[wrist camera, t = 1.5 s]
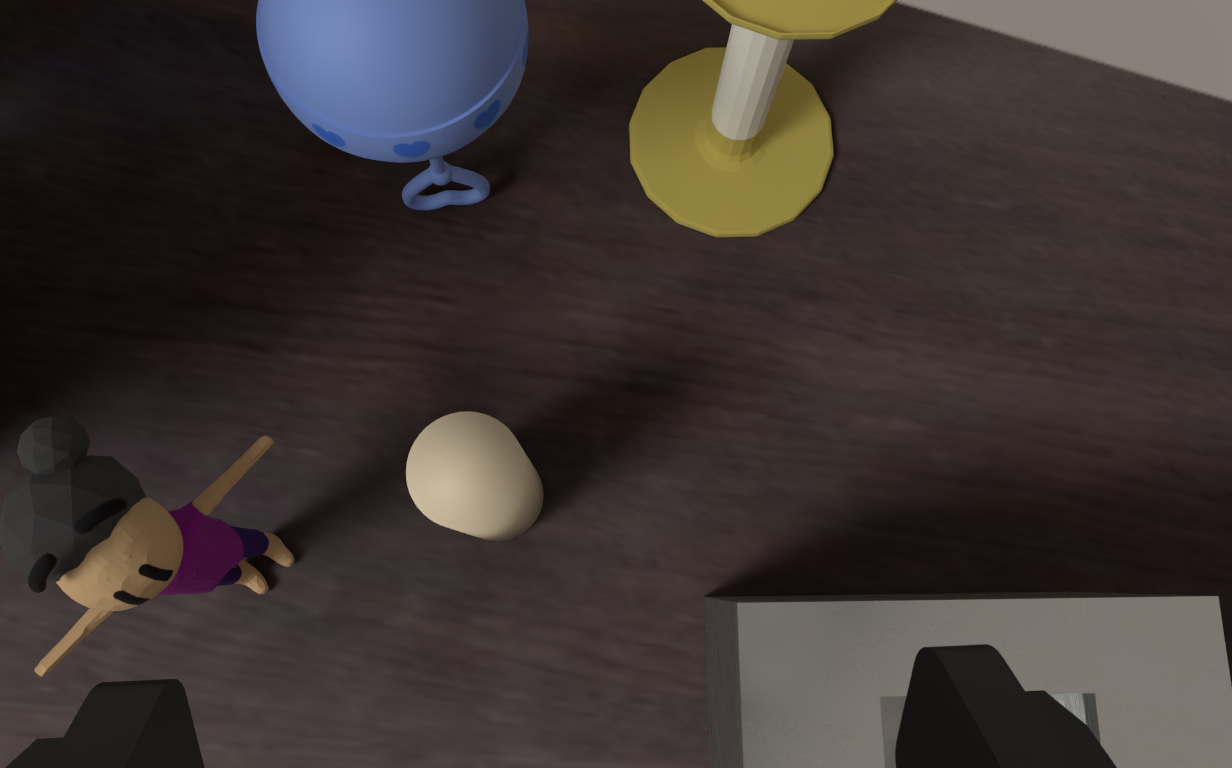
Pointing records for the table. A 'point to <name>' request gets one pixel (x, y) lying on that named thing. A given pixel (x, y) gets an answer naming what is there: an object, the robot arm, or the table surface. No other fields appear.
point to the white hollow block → (1010, 622)
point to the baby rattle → (398, 78)
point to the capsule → (474, 477)
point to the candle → (742, 120)
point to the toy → (118, 531)
